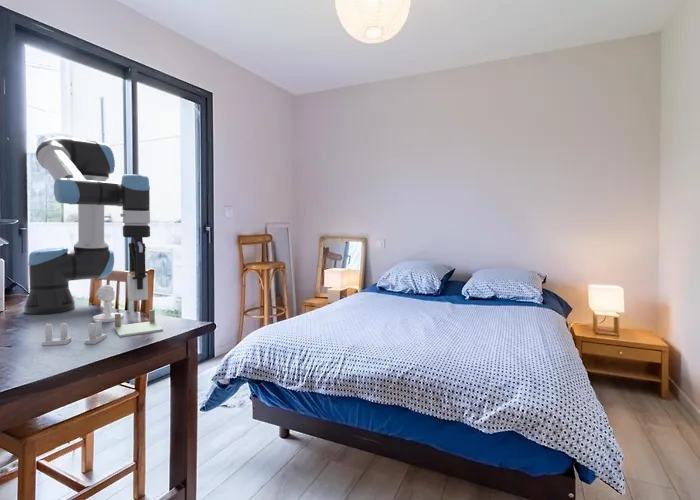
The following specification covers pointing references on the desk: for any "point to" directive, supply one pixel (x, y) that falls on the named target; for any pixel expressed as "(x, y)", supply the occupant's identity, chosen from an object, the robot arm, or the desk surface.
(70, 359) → the desk surface
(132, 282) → the connector
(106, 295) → the figurine
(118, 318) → the holder
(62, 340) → the clip
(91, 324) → the clip
